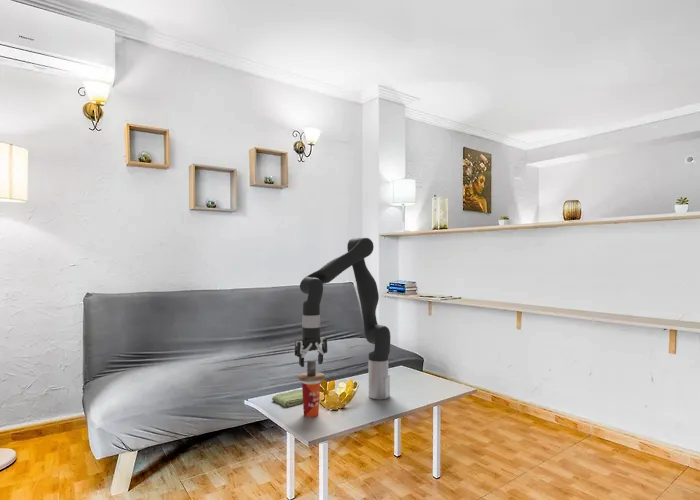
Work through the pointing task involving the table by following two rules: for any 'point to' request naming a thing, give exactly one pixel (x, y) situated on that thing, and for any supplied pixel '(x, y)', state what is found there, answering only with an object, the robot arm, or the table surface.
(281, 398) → the washcloth
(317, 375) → the walnut lid
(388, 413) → the table surface
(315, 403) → the coffee cup
